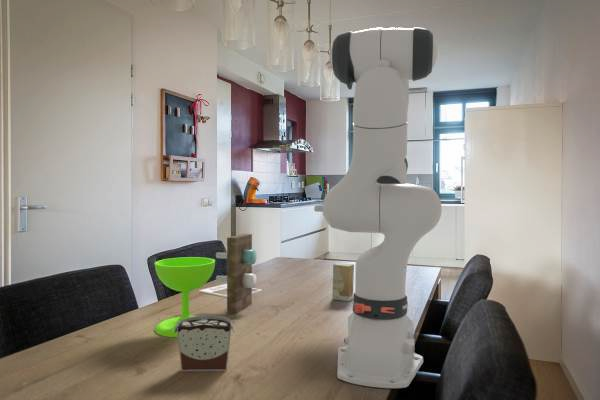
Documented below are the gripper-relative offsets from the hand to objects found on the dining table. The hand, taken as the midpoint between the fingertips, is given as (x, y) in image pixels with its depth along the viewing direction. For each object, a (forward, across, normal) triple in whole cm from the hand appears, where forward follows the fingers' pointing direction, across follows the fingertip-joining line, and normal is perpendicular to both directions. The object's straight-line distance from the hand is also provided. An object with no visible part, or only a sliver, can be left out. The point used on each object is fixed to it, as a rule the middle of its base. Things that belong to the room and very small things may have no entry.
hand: (315, 208), depth 132 cm
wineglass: (+30, +24, +32) cm, 50 cm away
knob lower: (+26, +2, +25) cm, 36 cm away
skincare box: (-5, -19, +32) cm, 38 cm away
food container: (+12, +45, +32) cm, 57 cm away
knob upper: (+26, +2, +18) cm, 31 cm away
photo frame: (+37, -18, +33) cm, 53 cm away
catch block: (+24, +2, +32) cm, 40 cm away
